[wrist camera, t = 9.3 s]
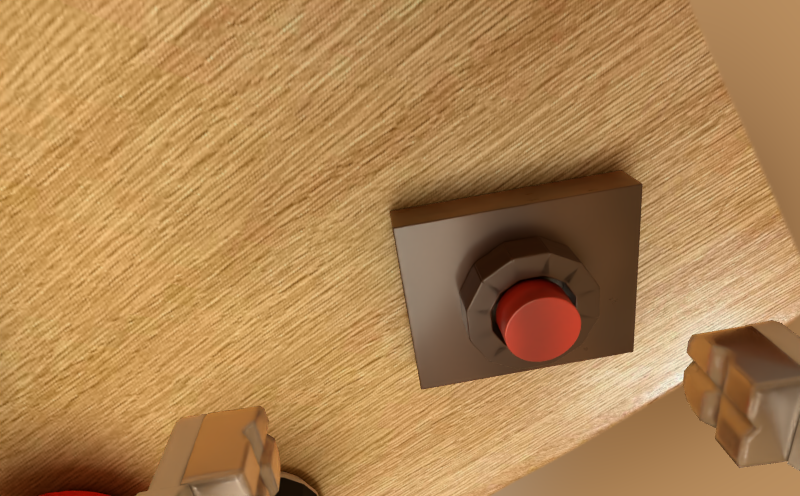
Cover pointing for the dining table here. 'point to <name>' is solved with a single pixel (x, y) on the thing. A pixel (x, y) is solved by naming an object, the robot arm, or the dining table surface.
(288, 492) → the beverage can
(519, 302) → the button
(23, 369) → the dining table surface
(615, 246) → the button block
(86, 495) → the tomato
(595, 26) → the dining table surface
